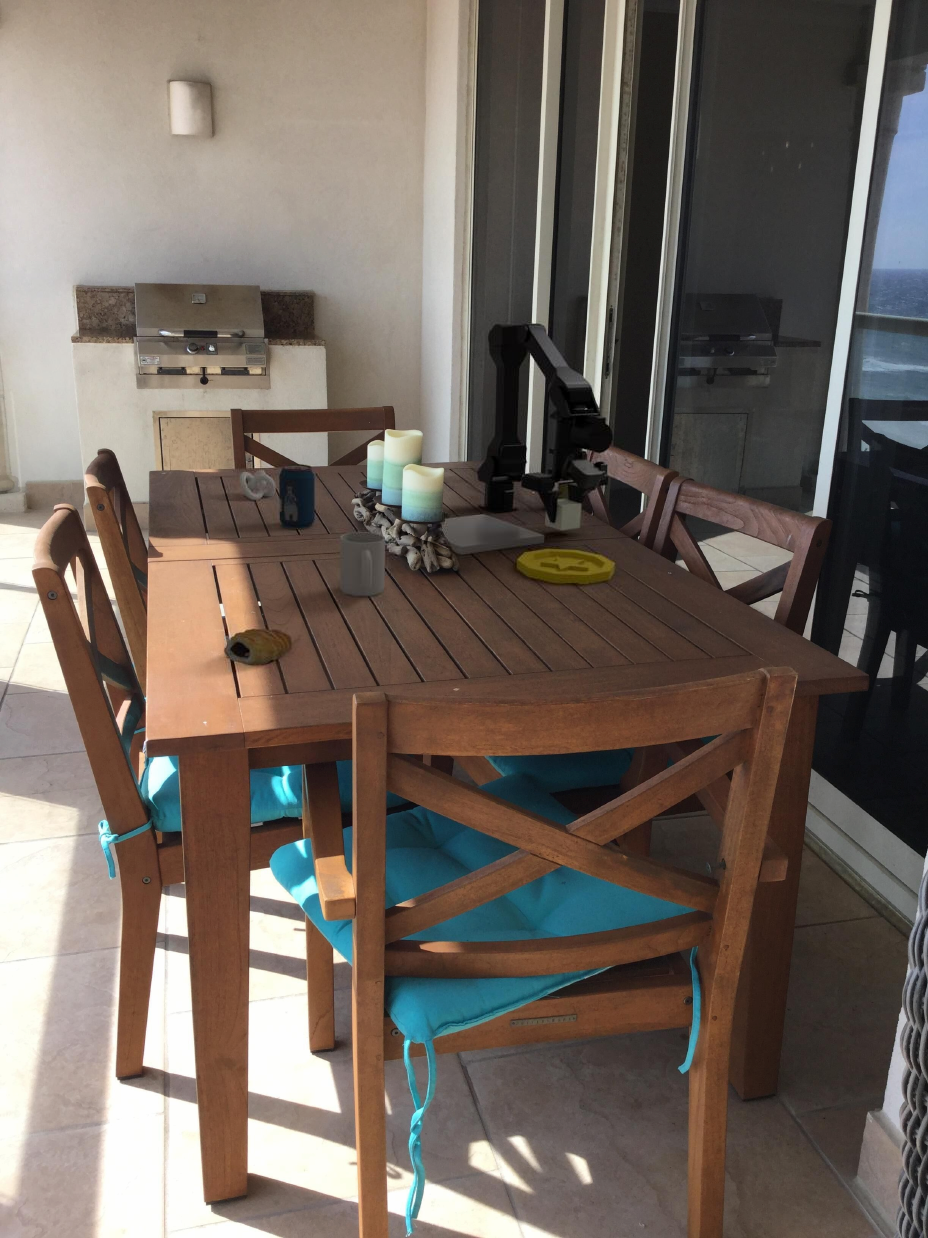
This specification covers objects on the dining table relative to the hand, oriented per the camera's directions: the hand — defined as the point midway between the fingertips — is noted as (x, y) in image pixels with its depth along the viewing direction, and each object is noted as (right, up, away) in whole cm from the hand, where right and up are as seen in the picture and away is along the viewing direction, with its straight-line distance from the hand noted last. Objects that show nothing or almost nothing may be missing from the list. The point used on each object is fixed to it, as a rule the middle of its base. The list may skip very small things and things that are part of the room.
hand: (562, 521), depth 213 cm
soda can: (-54, -1, -2) cm, 54 cm away
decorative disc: (-2, -12, -25) cm, 27 cm away
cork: (+2, +5, +24) cm, 24 cm away
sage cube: (0, -1, 0) cm, 1 cm away
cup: (-36, -16, -43) cm, 58 cm away
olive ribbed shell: (-48, -25, -71) cm, 89 cm away
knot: (-67, +7, +21) cm, 70 cm away
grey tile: (-18, -4, -5) cm, 19 cm away
